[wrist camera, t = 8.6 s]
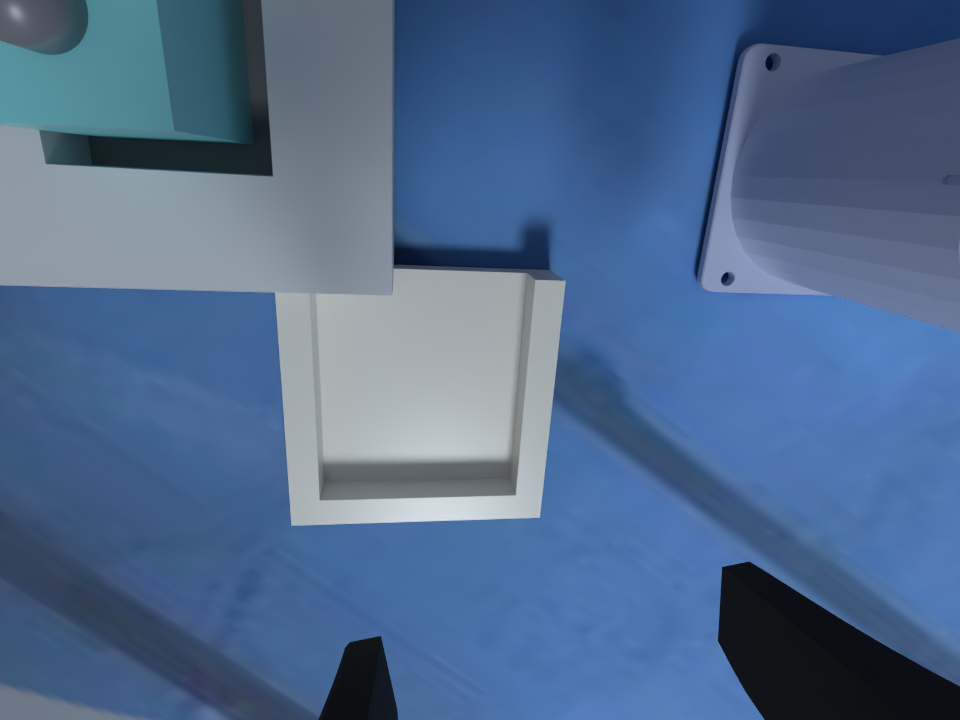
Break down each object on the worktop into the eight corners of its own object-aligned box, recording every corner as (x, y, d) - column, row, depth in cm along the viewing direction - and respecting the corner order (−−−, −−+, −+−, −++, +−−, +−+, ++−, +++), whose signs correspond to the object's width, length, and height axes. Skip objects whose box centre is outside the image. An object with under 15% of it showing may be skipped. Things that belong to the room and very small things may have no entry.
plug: (240, -11, 15) (102, -161, 8) (254, 144, 16) (146, 125, 9) (83, -24, 14) (-203, -196, 8) (111, 137, 16) (-112, 113, 9)
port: (395, -160, 15) (393, -226, 12) (394, 279, 18) (391, 295, 16) (-110, -232, 13) (-231, -326, 10) (7, 267, 17) (-61, 283, 14)
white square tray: (549, 270, 19) (565, 280, 17) (528, 488, 22) (539, 517, 20) (287, 260, 18) (273, 271, 16) (302, 493, 21) (291, 525, 19)
